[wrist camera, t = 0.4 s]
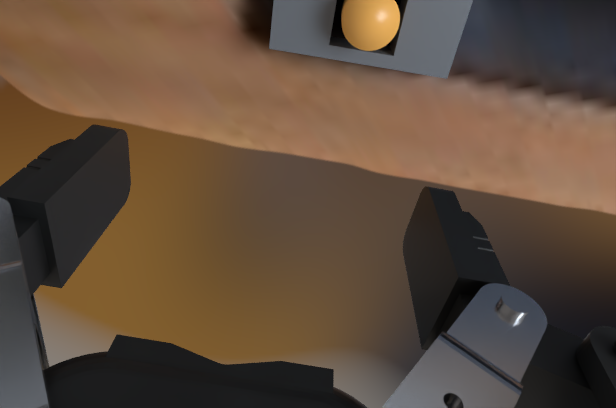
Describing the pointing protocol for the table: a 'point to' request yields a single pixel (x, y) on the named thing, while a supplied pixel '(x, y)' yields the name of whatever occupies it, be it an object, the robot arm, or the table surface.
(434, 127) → the table surface
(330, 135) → the table surface
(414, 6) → the button panel
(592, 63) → the table surface
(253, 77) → the table surface
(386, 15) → the orange button
